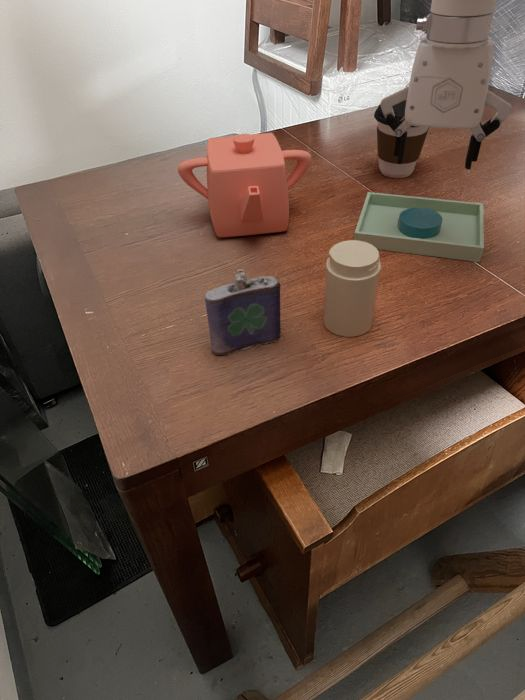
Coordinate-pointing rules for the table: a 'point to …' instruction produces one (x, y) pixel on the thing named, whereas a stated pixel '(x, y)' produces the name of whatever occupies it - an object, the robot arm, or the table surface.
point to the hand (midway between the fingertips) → (433, 163)
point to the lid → (419, 223)
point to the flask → (243, 313)
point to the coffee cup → (387, 144)
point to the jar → (351, 288)
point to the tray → (452, 241)
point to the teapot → (246, 183)
